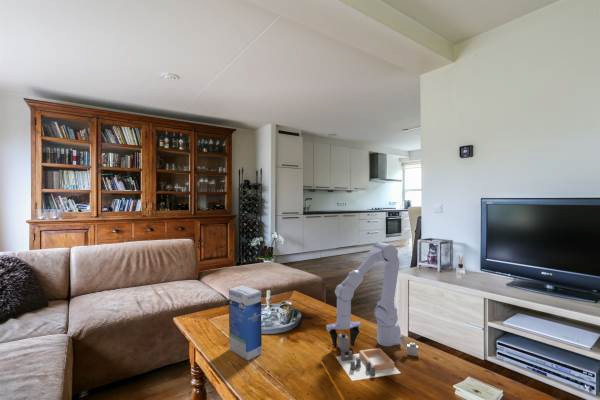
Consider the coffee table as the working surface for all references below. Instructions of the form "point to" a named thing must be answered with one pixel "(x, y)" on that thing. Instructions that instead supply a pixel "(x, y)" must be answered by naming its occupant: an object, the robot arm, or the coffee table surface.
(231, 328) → the string lights box
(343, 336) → the block
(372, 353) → the frame
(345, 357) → the board
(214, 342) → the coffee table surface
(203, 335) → the coffee table surface
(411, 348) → the lighter
